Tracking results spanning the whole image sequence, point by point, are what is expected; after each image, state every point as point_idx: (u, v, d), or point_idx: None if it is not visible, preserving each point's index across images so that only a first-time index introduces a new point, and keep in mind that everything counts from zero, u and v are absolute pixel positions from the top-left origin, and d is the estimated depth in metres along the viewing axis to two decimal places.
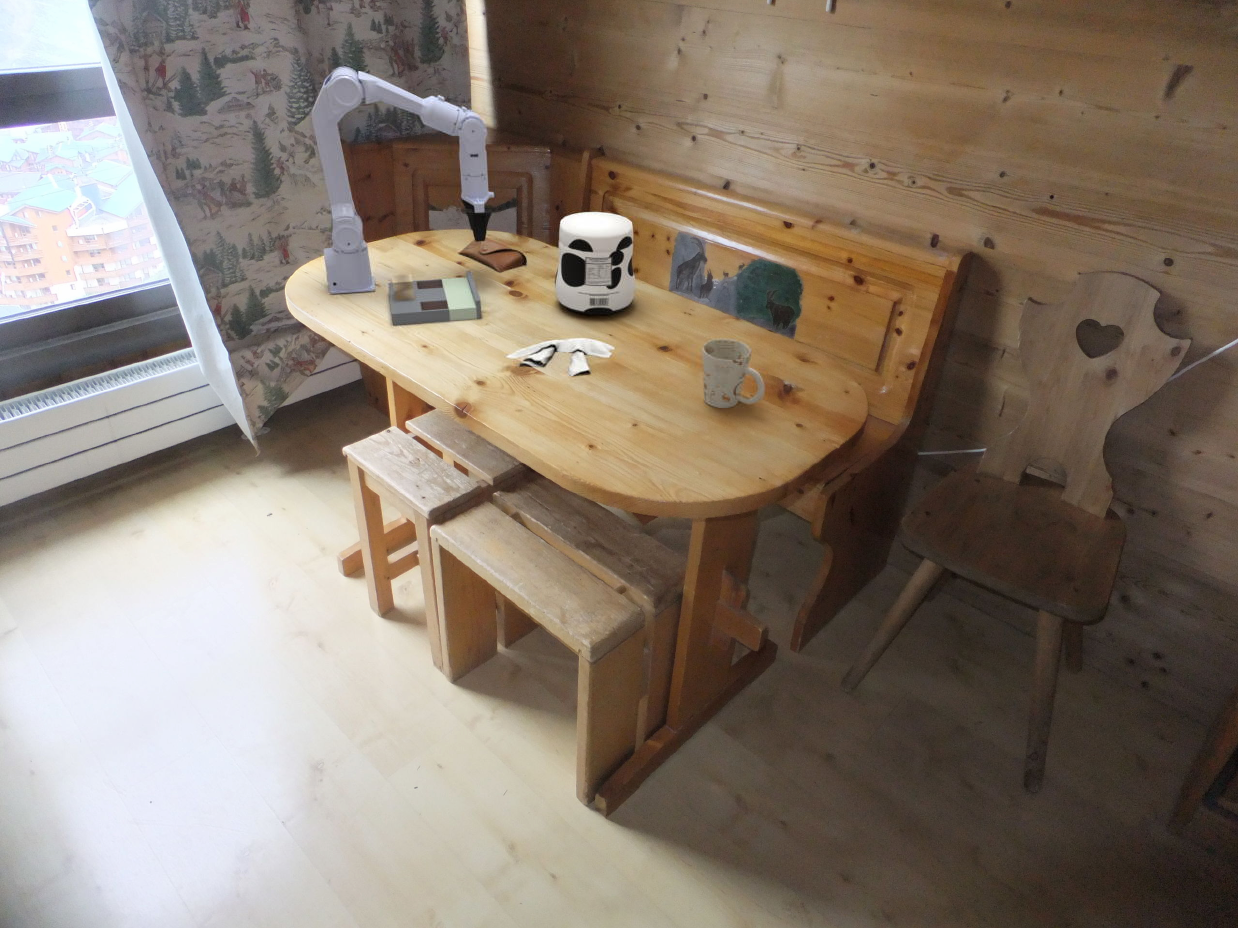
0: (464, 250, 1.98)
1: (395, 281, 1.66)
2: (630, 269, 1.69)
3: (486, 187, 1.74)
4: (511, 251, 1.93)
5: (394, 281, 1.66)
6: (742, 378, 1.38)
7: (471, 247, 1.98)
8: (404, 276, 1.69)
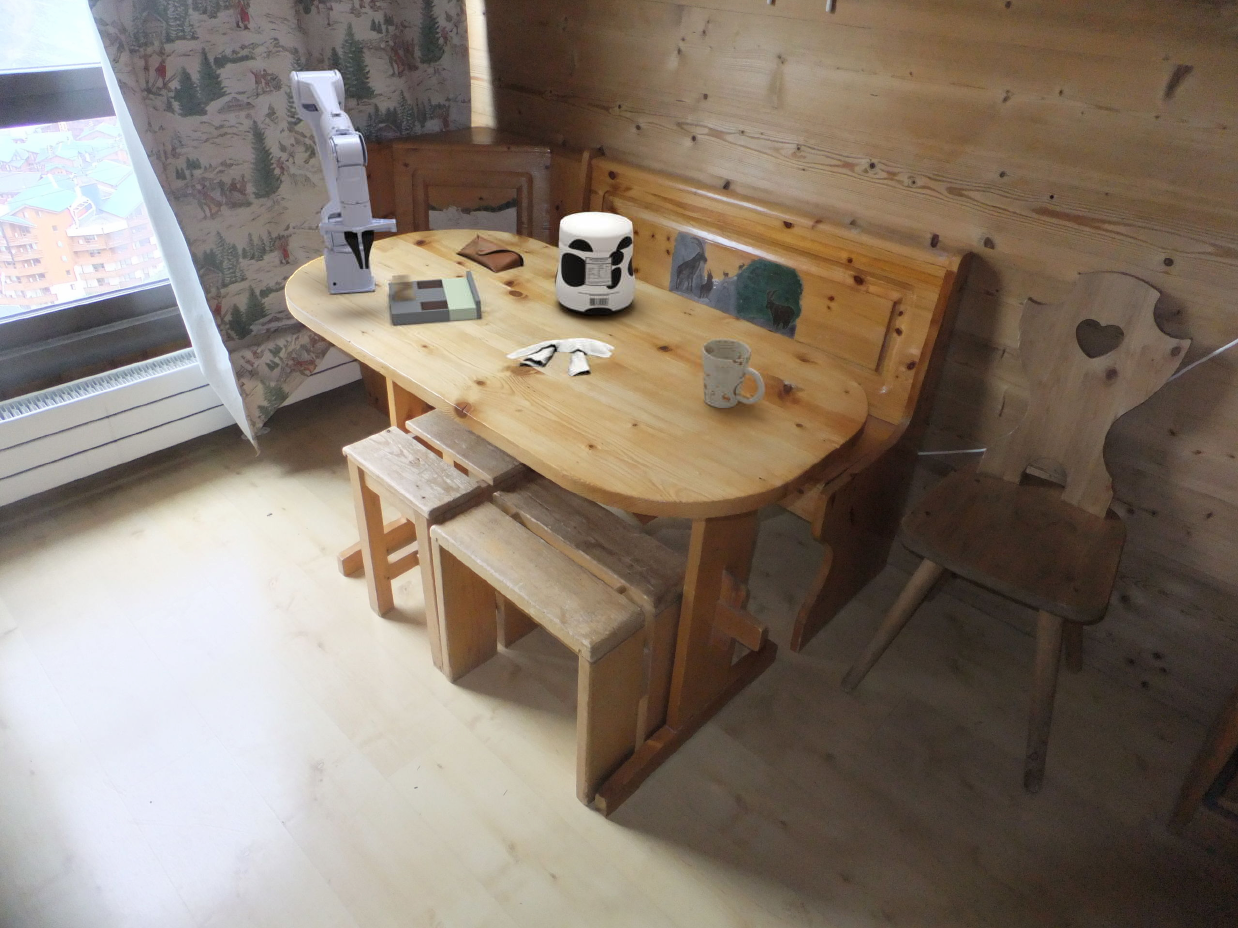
0: (462, 250, 1.98)
1: (395, 281, 1.66)
2: (630, 269, 1.69)
3: (348, 218, 1.56)
4: (508, 252, 1.93)
5: (394, 281, 1.66)
6: (742, 378, 1.38)
7: (469, 248, 1.98)
8: (404, 276, 1.69)
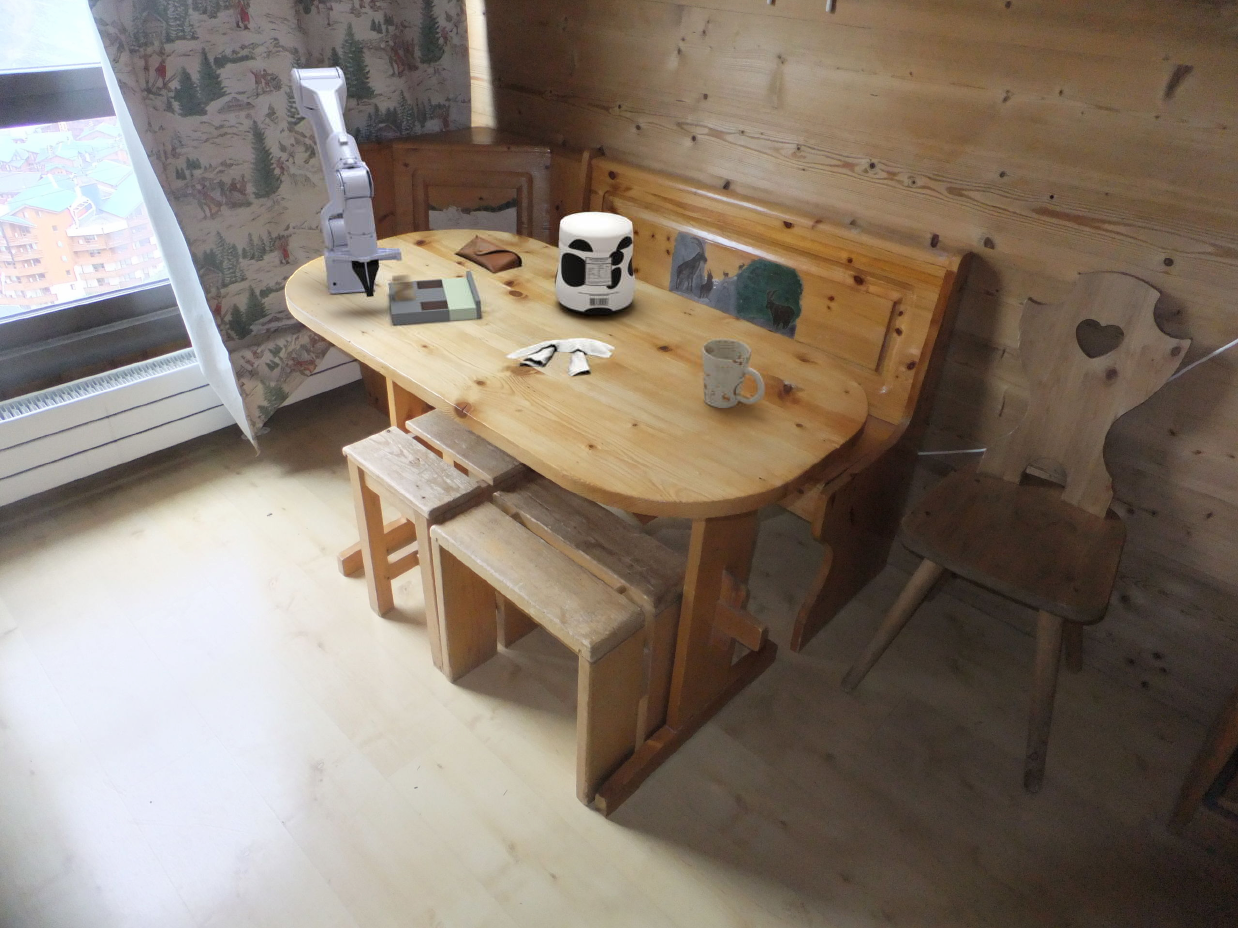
0: (460, 251, 1.98)
1: (395, 281, 1.66)
2: (630, 269, 1.69)
3: (354, 248, 1.60)
4: (506, 252, 1.92)
5: (394, 281, 1.66)
6: (742, 378, 1.38)
7: (467, 248, 1.97)
8: (404, 276, 1.69)
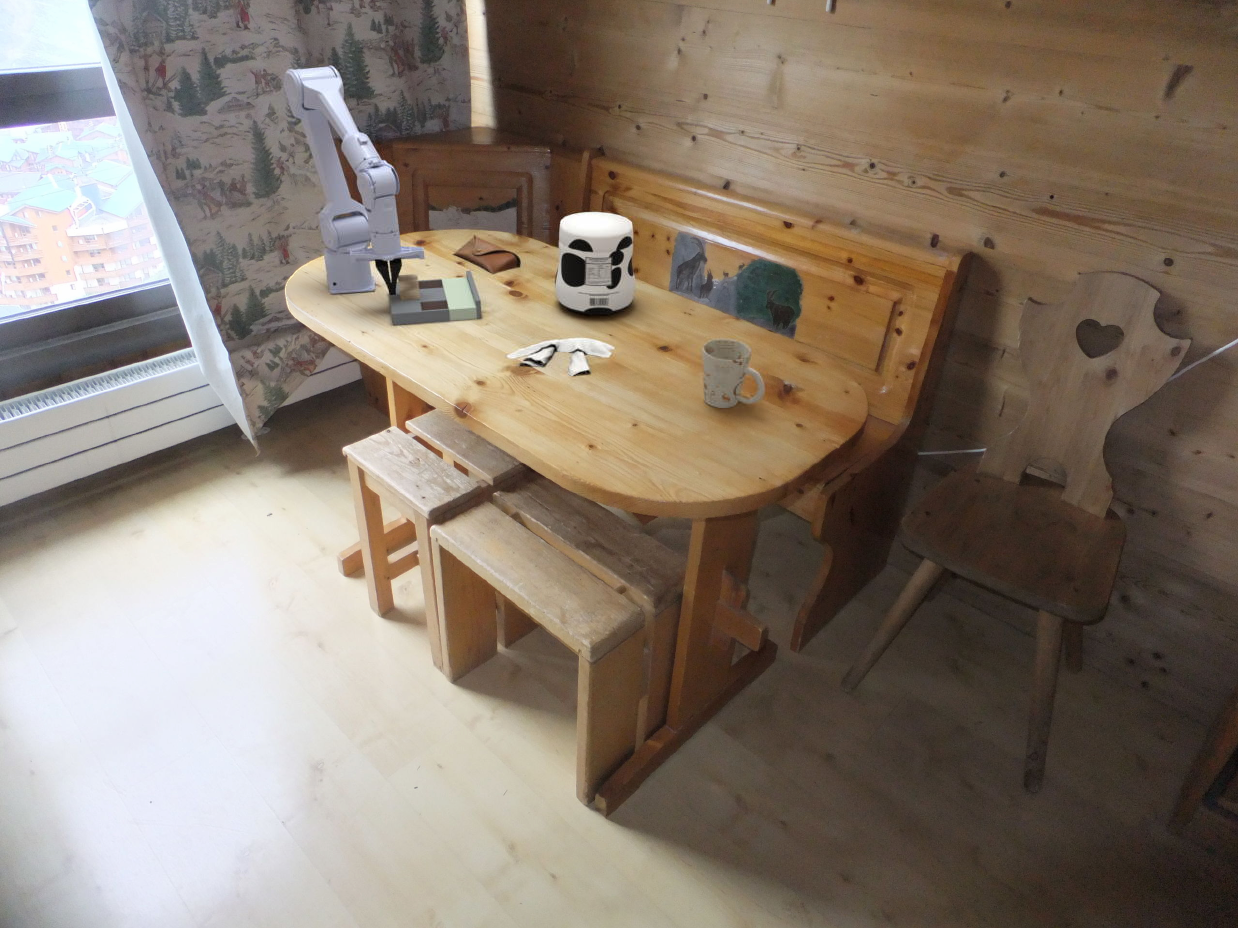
0: (458, 251, 1.98)
1: (401, 281, 1.67)
2: (630, 269, 1.69)
3: (378, 246, 1.61)
4: (505, 252, 1.92)
5: (400, 281, 1.67)
6: (742, 378, 1.38)
7: (465, 249, 1.97)
8: (410, 276, 1.69)
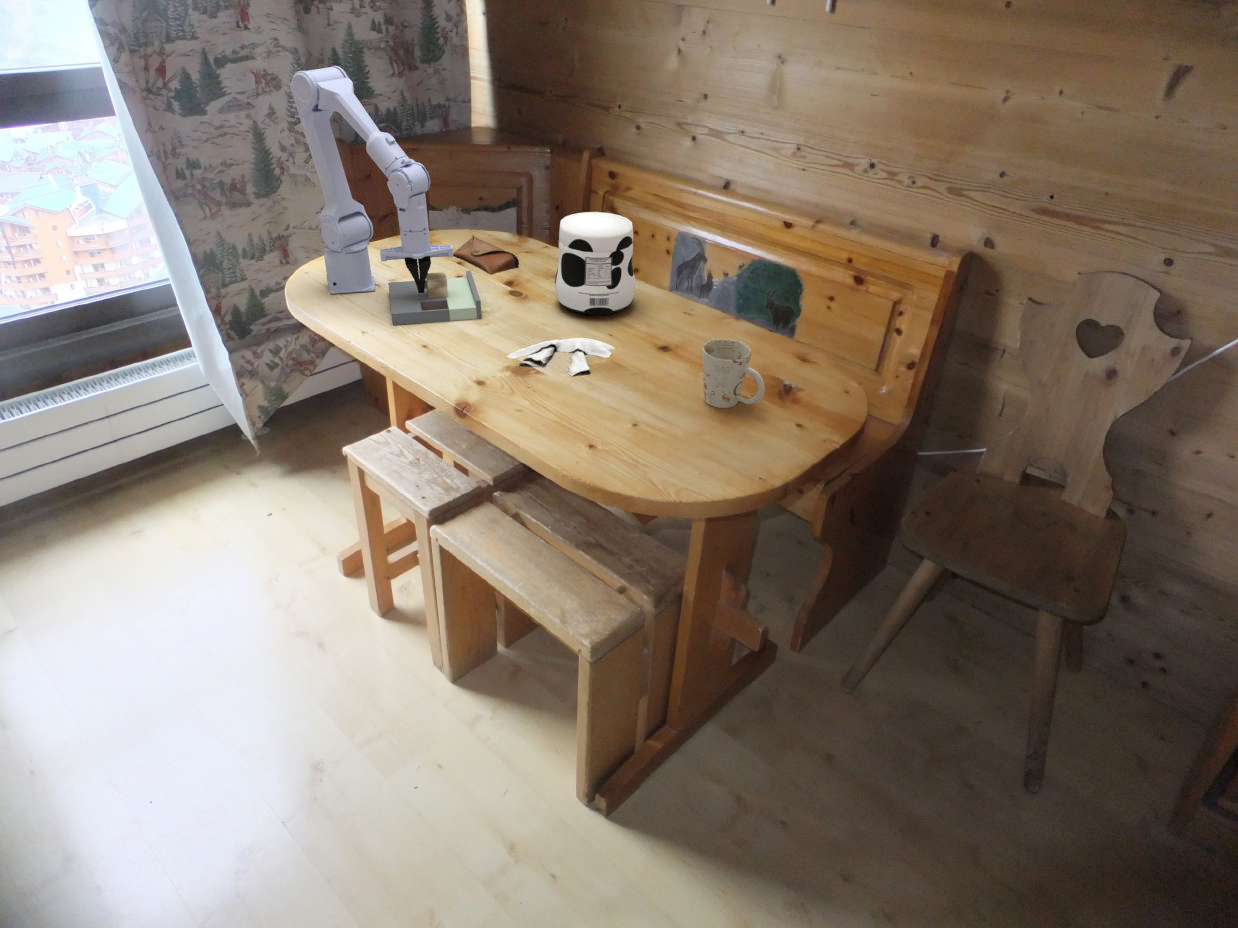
0: (457, 251, 1.97)
1: (430, 279, 1.68)
2: (630, 269, 1.69)
3: (408, 244, 1.62)
4: (503, 253, 1.92)
5: (428, 279, 1.68)
6: (742, 378, 1.38)
7: (464, 249, 1.97)
8: (438, 274, 1.70)
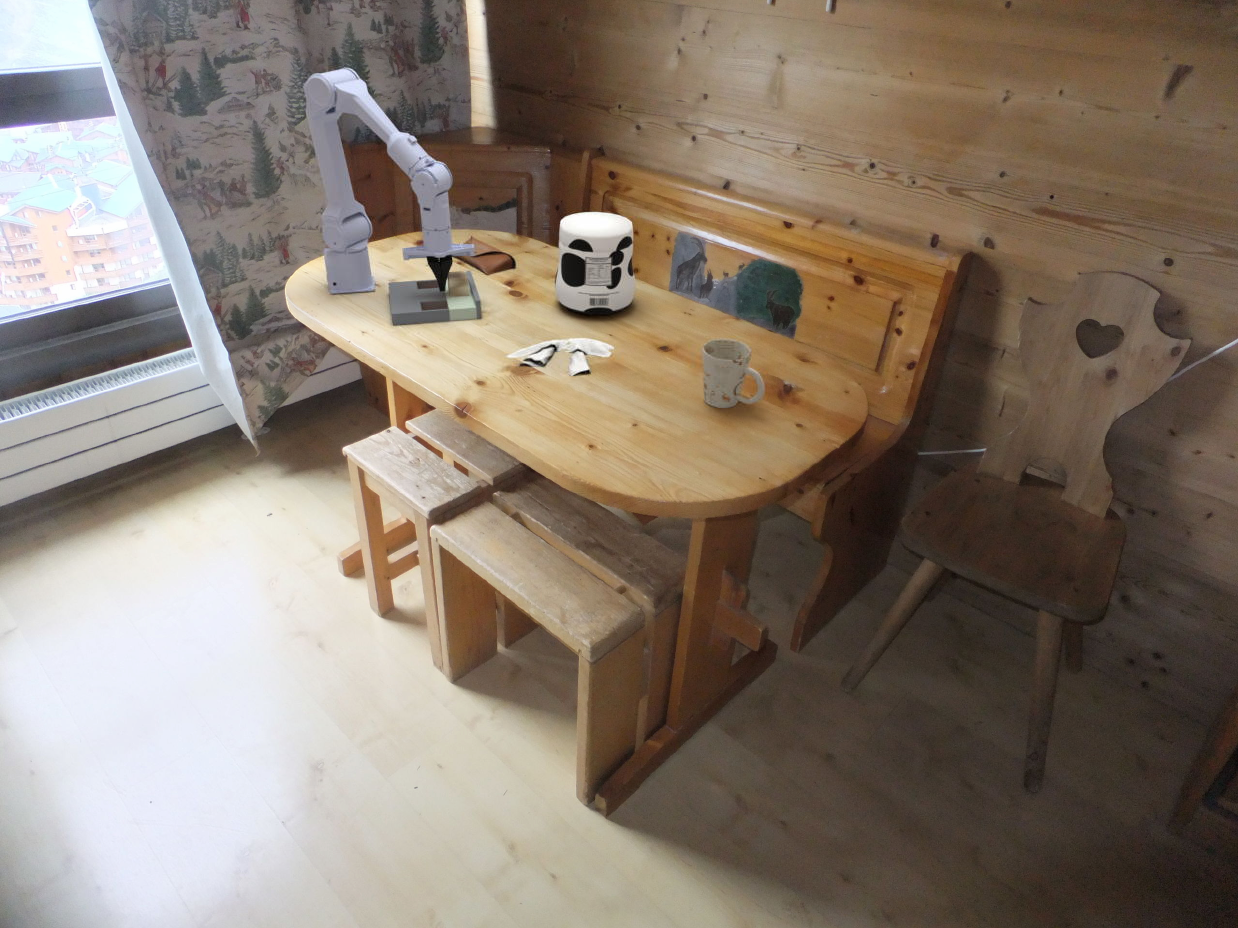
0: None
1: (451, 278, 1.69)
2: (630, 269, 1.69)
3: (430, 243, 1.63)
4: (500, 254, 1.91)
5: (450, 277, 1.69)
6: (742, 378, 1.38)
7: None
8: (459, 273, 1.71)
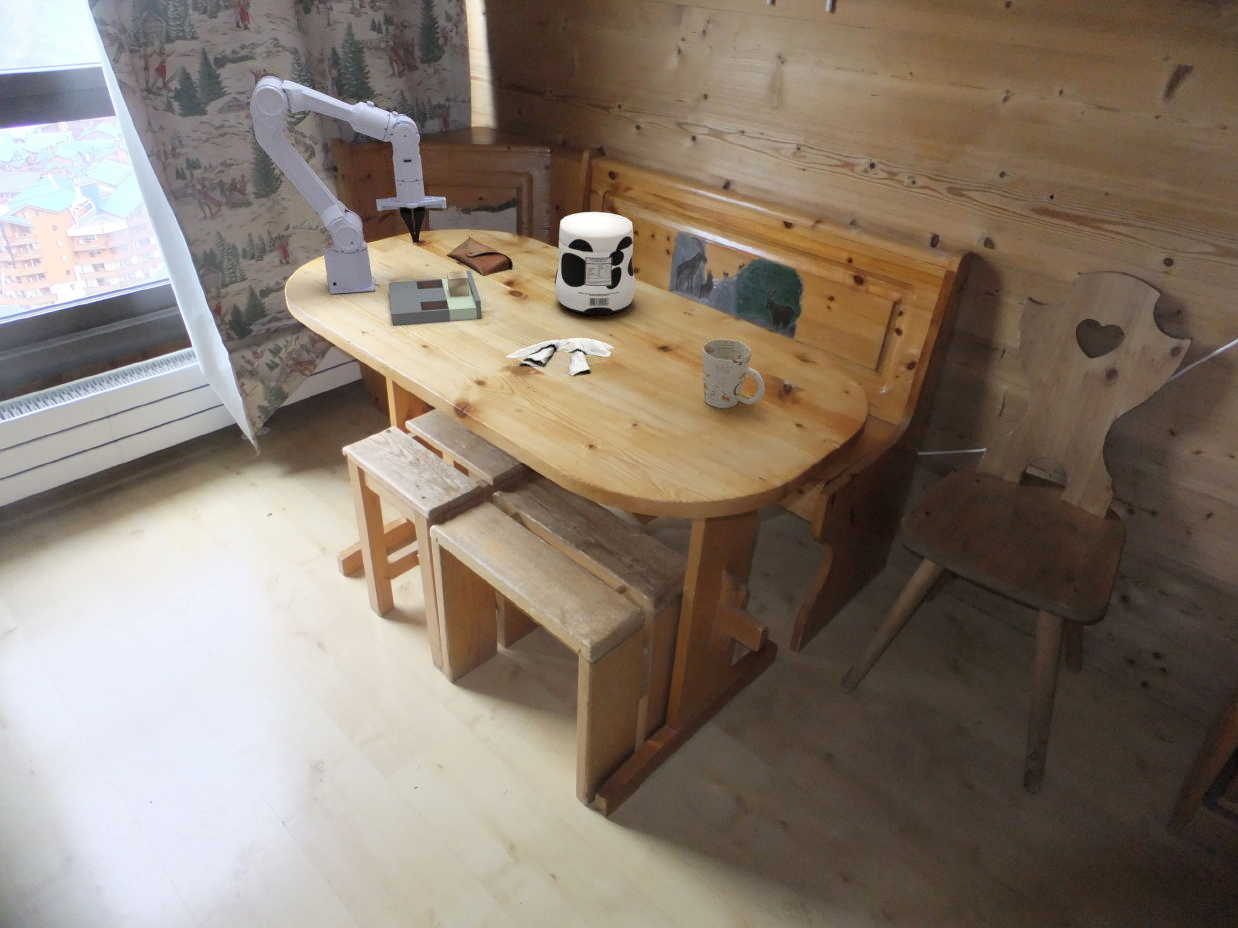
0: (452, 252, 1.97)
1: (451, 278, 1.69)
2: (630, 269, 1.69)
3: (403, 194, 1.70)
4: (497, 254, 1.91)
5: (450, 277, 1.69)
6: (742, 378, 1.38)
7: (459, 250, 1.96)
8: (459, 273, 1.71)
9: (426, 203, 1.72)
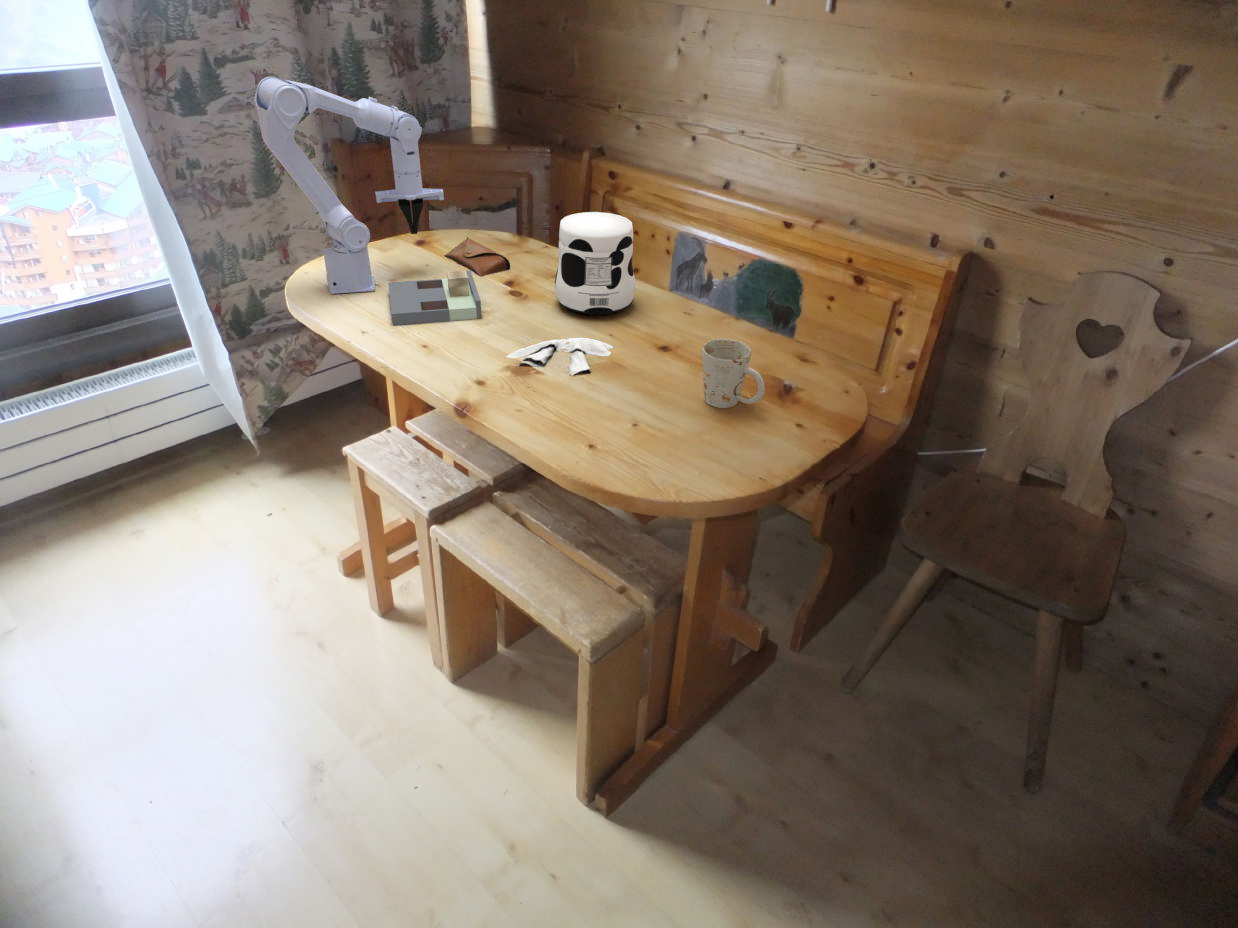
0: (450, 253, 1.97)
1: (451, 278, 1.69)
2: (630, 269, 1.69)
3: (401, 186, 1.75)
4: (494, 255, 1.91)
5: (450, 277, 1.69)
6: (742, 378, 1.38)
7: (457, 250, 1.96)
8: (459, 273, 1.71)
9: (424, 195, 1.77)
